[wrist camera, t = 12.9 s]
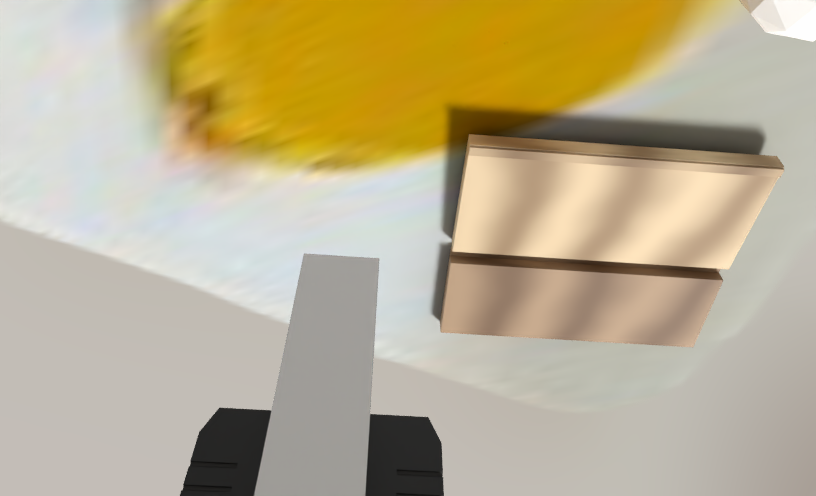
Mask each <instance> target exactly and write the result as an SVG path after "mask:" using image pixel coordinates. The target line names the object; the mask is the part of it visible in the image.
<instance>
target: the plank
mask: <svg viewBox="0 0 816 496" xmlns="http://www.w3.org/2000/svg"><path fill="white" fill-rule="evenodd" d="M783 172H784V166H783V165H782V163H781V162H780V160H779V159H778V157H777V156H766V155H752V154H738V153H725V152H711V151H697V150H683V149H669V148H655V147H641V146H627V145H613V144H599V143H586V142H572V141H558V140H544V139H530V138H516V137H502V136H488V135H474V134H469V137H468V143H467V149H466V156H465V162H464V168H463V174H462V180H461V187H460V193H459V199H458V205H457V212H456V218H455V224H454V230H453V236H452V252H467V253H483V254H498V255H514V256H529V257H545V258H561V259H576V260H592V261H607V262H623V263H638V264H654V265H670V266H685V267H701V268H716V269H729V268H730V266H731V264H732V262H733V260H734V259H735V257H736V255H737V253H738V251H739V249H740V248H741V246H742V244H743V242H744V240H745V238H746V237H747V235H748V233H749V231H750V229H751V227H752V226H753V224H754V222H755V220H756V218H757V216H758V214H759V213H760V211H761V209H762V207H763V205H764V203H765V202H766V200H767V198H768V196H769V194H770V192H771V191H772V189H773V187H774V185H775V183H776V181H777V180H778V178H779V177H781V175H782V173H783Z"/></svg>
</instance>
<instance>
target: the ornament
mask: <svg viewBox="0 0 816 496" xmlns="http://www.w3.org/2000/svg"><path fill="white" fill-rule="evenodd" d="M740 2H741V3H742V4H743V5H744V6H745V8H746V9H747V10H748V11H749V12H750V14H751V15H752V16H753V17H754V19H755V20H756V21H757V22H758V23H759V25H760V26H761V27H762V28H763V29H764V31H765V32H767V33H772V34H777V35H782V36H787V37H792V38H797V39H802V40H807V41H814V40H816V0H740Z"/></svg>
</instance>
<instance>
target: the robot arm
mask: <svg viewBox="0 0 816 496" xmlns="http://www.w3.org/2000/svg"><path fill="white" fill-rule="evenodd" d="M378 272H379V258H364V257H348V256H332V255H316V254H304V256H303V261H302V266H301V271H300V275H299V280H298V285H297V290H296V295H295V300H294V304H293V309H292V314H291V319H290V324H289V329H288V334H287V339H286V343H285V348H284V353H283V358H282V363H281V368H280V372H279V377H278V382H277V387H276V392H275V396H274V401H273V406H272V411H270V410H252V409H251V410H250V409H233V408H219V409H218V410H217V412H216V413H215V414H214V415H213V416H212V417H211V419H210V420H209V421H208V422H207V424H206V425H205V426H204V427H203V428H202V430H201V431H200V432H199V435H198V438H197V442H196V445H195V448H194V451H193V455H192V458H191V464H190V466H189V468H188V471H187V475H186V478H185V481H184V484H183V485H184V488H183V490H182V491H181V494H180V496H444V492H443V477H442V473H443V468H442V446H441V441H440V439H439V437H438V436H437V434H436V432H435V430H434V428H433V426H432V424H431V422H430V420H429V418H428V417H413V416H394V415H376V414H370V407H371V389H372V373H373V357H374V340H375V323H376V306H377V289H378Z"/></svg>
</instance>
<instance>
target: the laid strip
mask: <svg viewBox="0 0 816 496" xmlns="http://www.w3.org/2000/svg"><path fill="white" fill-rule="evenodd" d="M719 271H720V269H716V268H701V267H685V266H670V265H654V264H638V263H623V262H607V261H592V260H576V259H561V258H545V257H529V256H514V255H498V254H483V253H467V252H452V245H451V249H450V256H449V263H448V270H447V277H446V284H445V291H444V298H443V305H442V312H441V319H440V329H441V332H443V333H460V334H477V335H494V336H511V337H528V338H545V339H562V340H579V341H596V342H613V343H630V344H647V345H664V346H681V347H693V346H694V344H695V342H696V340H697V337H698V335H699V333H700V331H701V329H702V326H703V324H704V322H705V320H706V318H707V315H708V313H709V311H710V309H711V306H712V304H713V302H714V300H715V298H716V295H717V293H718V291H719V289H720V287H721V284H722V282H723V279H722V277H721V276H720V274H719Z"/></svg>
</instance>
